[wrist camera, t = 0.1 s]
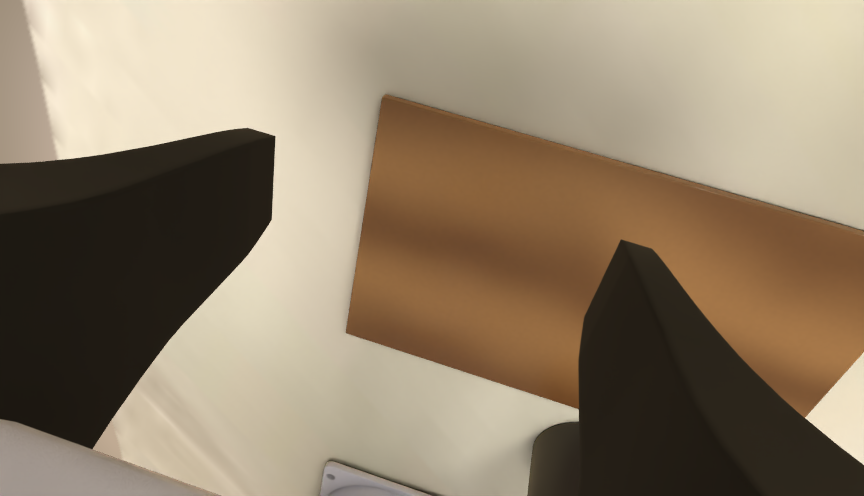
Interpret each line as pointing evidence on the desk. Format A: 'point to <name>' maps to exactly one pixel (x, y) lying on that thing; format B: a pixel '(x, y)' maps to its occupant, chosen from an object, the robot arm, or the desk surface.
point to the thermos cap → (556, 462)
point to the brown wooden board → (583, 258)
